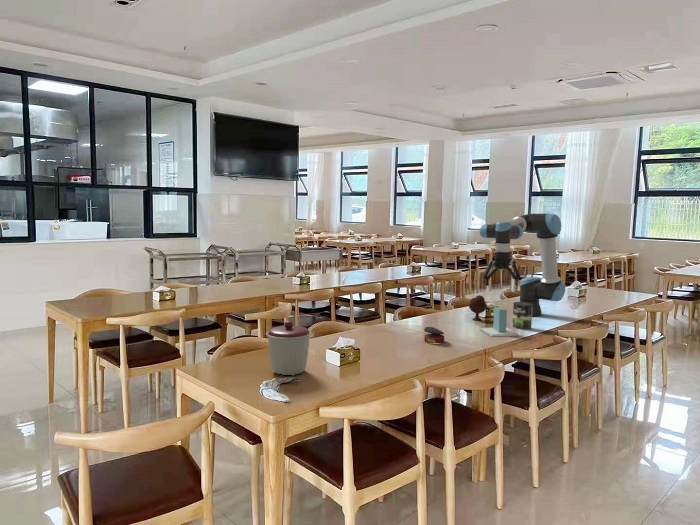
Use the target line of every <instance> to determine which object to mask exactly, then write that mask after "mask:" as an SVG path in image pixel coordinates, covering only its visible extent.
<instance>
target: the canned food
mask: <svg viewBox="0 0 700 525" xmlns="http://www.w3.org/2000/svg"><path fill="white" fill-rule="evenodd" d="M423 331H424V332H425V333H427V334H425V335H424V339H423V340H424V341H425V342H424V343H426V342H427V343H426V344H428V343H443V342H444V343H445V332H443V331H442V330H440V329H438V328H435V327H433V326H426V327H425V328H424V329H423ZM444 343H443V344H444Z"/></svg>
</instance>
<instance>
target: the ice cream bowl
mask: <svg viewBox="0 0 700 525" xmlns="http://www.w3.org/2000/svg"><path fill="white" fill-rule="evenodd" d="M467 304H468V305H467V306H468V309H470V310H471V312H472V313H473V314H475V317H473V318H472V321H474V322H481V321H483V319H482V318H480V316H479V315H480V314H481V313H484V312H485V311H486V310H487V307H488V304H487V303H486V300H485V297H484V296H483V295H481V294H479V295H476V296H475V297H471V299H470V300H469V303H467Z"/></svg>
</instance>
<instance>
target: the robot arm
mask: <svg viewBox="0 0 700 525" xmlns="http://www.w3.org/2000/svg"><path fill="white" fill-rule="evenodd" d="M561 231H562V220H561V218H560V217H559V216H558V215H557V214H555V213H527V214H523V215H519V216H515V217H514V218H512V219H509V220H505V221H497V222H496V223H491V224H488V223H484V224H482V225H481V226H480V228H479V234H480V236H481V238H483V239H495V244H494V260H489V261H488V262H487V266H486V268H485V270H484V272H483V274H482V276H481V277H482V279H485V282H484V283H485V284H484V285H485V286H486V293H491V277H492V276H493V275H494V274H495V272H496V271H499V270H506V271H507V272H508V273H509V275H510V276H511V286H510V288H511V289H510V290H511V292H513V293H516V292H515V291H516V286H517V284H518V283H517V282H518V279H520V278H521V275H520V272H519V269H518V267H517V265H516V261H515V260H510V259H511V258H510V257H511V255H510V254H511V252H510V251H511V240H518V239H520V238H522V236H523V233H528V234H536V238H537V239H538V240H539V244H540V245H539V246H540V248H539V249H540V261H541V271H542V277H541V278H540V277H535V276H534V277H525V278H522V279H520V284H519V301H518V302H528V303H532V304H533V308H532V317H539V316H540V317H541V316H542V314H543V313H542V308H541V304H540V300H542V301H543V300H544V301H550V302H559V301H561V300H562V299H563V298H564V296H565V292H566V284H565V283H564V282H562V279H561V277H560V276H559V273H558V259H557V242H556V238H558V236H559V235H560V233H561ZM509 265H510V266H511V267H512V269H511V267H510V266H509Z"/></svg>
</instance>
